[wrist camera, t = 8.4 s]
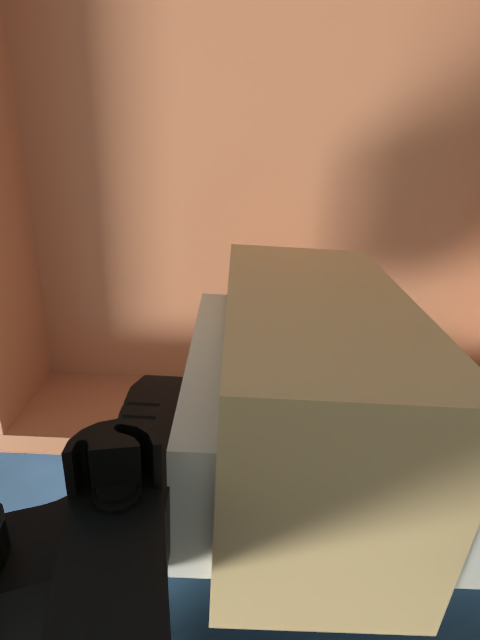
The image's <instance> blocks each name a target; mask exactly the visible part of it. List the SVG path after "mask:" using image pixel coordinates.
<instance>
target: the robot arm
mask: <svg viewBox="0 0 480 640" xmlns="http://www.w3.org/2000/svg"><path fill="white" fill-rule="evenodd" d="M226 304H227V295H223V294H204V293H202V297H201V301H200V306H199V310H198V314H197V319H196V323H195V328H194V332H193V336H192V341H191V345H190V350H189V354H188V358H187V363H186V367H185V372H184V376H183V377H178V376H158V375H144V376H143V377H142V378H140V379H139V380H138V381H137V382H136V383H134V384H133V385H132V386H131V387H130V389H129V391H128V393H127V396H126V398H125V400H124V405H122V407H121V410H120V412H119V414H118V418H117V419H112V420H107V421H102V422H97V423H95V424H93V425H90V426H88V427H86V428H84V429H81V430H80V431H79V432H78V433H76V434H75V435H74V436H73V437H72V438H70V439H69V440H68V442H67V443H66V445H65V447H64V449H63V451H62V453H61V454H62V461H63V469H64V476H65V483H66V490H67V496H66V497H64V498H61V499H59V500H57V501H54V502H51V503H48V504H44V505H41V506H36V507H31V508H27V509H22V510H17V511H12V512H8V513H4V509H3V505H2V504H1V503H0V640H171V630H170V612H169V594H168V577H177V578H203V579H211V568H212V545H213V523H214V501H215V478H216V456H217V434H218V411H219V392H220V379H221V367H222V354H223V342H224V329H225V316H226ZM167 570H168V575H167ZM455 588H457V589H480V524H479V527H478V529H477V532H476V534H475V537H474V540H473V542H472V545H471V547H470V550H469V552H468V555H467V558H466V560H465V563H464V565H463V568H462V570H461V573H460V576H459V578H458V581H457V583H456V586H455Z"/></svg>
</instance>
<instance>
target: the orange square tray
mask: <svg viewBox="0 0 480 640" xmlns="http://www.w3.org/2000/svg"><path fill="white" fill-rule="evenodd" d="M231 244H241V245H259V246H276V247H294V248H312V249H329V250H347V251H364V252H365V253H366V254H367V255H368V256H369V257H370V258H371V259H372V260H373V261H374V262H375V263H376V264H377V265H378V266H379V267H380V268H381V269H382V270H383V271H384V272H385V273H386V274H387V275H388V276H389V277H390V278H391V279H392V280H393V281H394V282H395V283H396V284H397V285H398V286H399V287H400V288H401V289H402V290H403V291H404V292H405V293H406V294H407V295H408V296H409V297H410V298H411V299H412V300H413V301H414V302H415V303H416V304H417V305H418V306H419V307H420V308H421V309H422V310H423V311H424V312H425V313H426V314H427V315H428V316H429V317H430V318H431V319H432V320H433V321H434V322H435V323H436V324H437V325H438V326H439V327H440V328H441V329H442V330H443V331H444V332H445V333H446V334H447V335H448V336H449V337H450V338H451V339H452V340H453V341H454V342H455V343H456V344H457V345H458V346H459V347H460V348H461V349H462V350H463V351H464V352H465V353H466V354H467V355H468V356H469V357H470V358H471V359H472V360H473V361H474V362H475V363H476V364H477V365H478V366H479V367H480V0H0V452H10V453H33V454H57V455H62V454H61V453H62V451H63V449H64V447H65V445H66V443H67V442H68V440H69V439H70V438H72V437H73V436H74V435H75V434H76V433H78V432H79V431H80V430H81V429H84V428H86V427H88V426H90V425H93V424H95V423H97V422H102V421H107V420H112V419H117V418H118V414H119V412H120V410H121V407H122V405H124V400H125V398H126V396H127V393H128V391H129V389H130V387H131V386H132V385H133V384H134V383H136V382H137V381H138V380H139V379H140V378H142V377H143V376H144V375H158V376H178V377H183V376H184V372H185V367H186V363H187V358H188V354H189V350H190V345H191V341H192V336H193V332H194V328H195V323H196V319H197V314H198V310H199V306H200V301H201V297H202V293H204V294H223V295H227V291H228V279H229V266H230V254H231Z"/></svg>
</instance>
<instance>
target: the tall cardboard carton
mask: <svg viewBox="0 0 480 640" xmlns="http://www.w3.org/2000/svg"><path fill="white" fill-rule="evenodd" d="M479 524H480V367H479V366H478V365H477V364H476V363H475V362H474V361H473V360H472V359H471V358H470V357H469V356H468V355H467V354H466V353H465V352H464V351H463V350H462V349H461V348H460V347H459V346H458V345H457V344H456V343H455V342H454V341H453V340H452V339H451V338H450V337H449V336H448V335H447V334H446V333H445V332H444V331H443V330H442V329H441V328H440V327H439V326H438V325H437V324H436V323H435V322H434V321H433V320H432V319H431V318H430V317H429V316H428V315H427V314H426V313H425V312H424V311H423V310H422V309H421V308H420V307H419V306H418V305H417V304H416V303H415V302H414V301H413V300H412V299H411V298H410V297H409V296H408V295H407V294H406V293H405V292H404V291H403V290H402V289H401V288H400V287H399V286H398V285H397V284H396V283H395V282H394V281H393V280H392V279H391V278H390V277H389V276H388V275H387V274H386V273H385V272H384V271H383V270H382V269H381V268H380V267H379V266H378V265H377V264H376V263H375V262H374V261H373V260H372V259H371V258H370V257H369V256H368V255H367V254H366V253H365V252H364V251H347V250H329V249H312V248H294V247H276V246H259V245H241V244H231V254H230V266H229V279H228V291H227V304H226V316H225V329H224V342H223V354H222V367H221V379H220V392H219V411H218V434H217V456H216V478H215V501H214V523H213V545H212V568H211V590H210V612H209V628H225V629H252V630H279V631H306V632H333V633H360V634H388V635H415V636H436V635H437V632H438V629H439V627H440V624H441V622H442V619H443V617H444V614H445V611H446V609H447V606H448V604H449V601H450V599H451V596H452V593H453V591H454V588H455V586H456V583H457V581H458V578H459V576H460V573H461V570H462V568H463V565H464V563H465V560H466V558H467V555H468V552H469V550H470V547H471V545H472V542H473V540H474V537H475V534H476V532H477V529H478V527H479Z"/></svg>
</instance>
